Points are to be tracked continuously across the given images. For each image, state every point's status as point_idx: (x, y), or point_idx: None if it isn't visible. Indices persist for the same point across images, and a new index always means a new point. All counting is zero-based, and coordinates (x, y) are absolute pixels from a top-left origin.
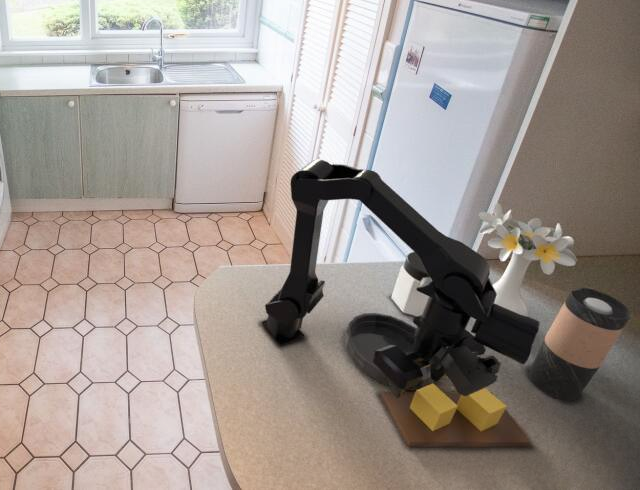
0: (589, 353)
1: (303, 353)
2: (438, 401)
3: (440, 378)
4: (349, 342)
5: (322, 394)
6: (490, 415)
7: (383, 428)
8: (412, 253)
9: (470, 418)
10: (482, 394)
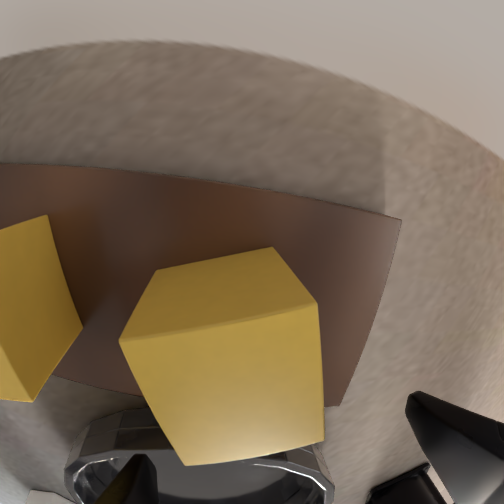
0: None
1: (403, 460)
2: (249, 388)
3: (128, 476)
4: None
5: (454, 380)
6: None
7: (408, 289)
8: None
9: (54, 272)
10: None
